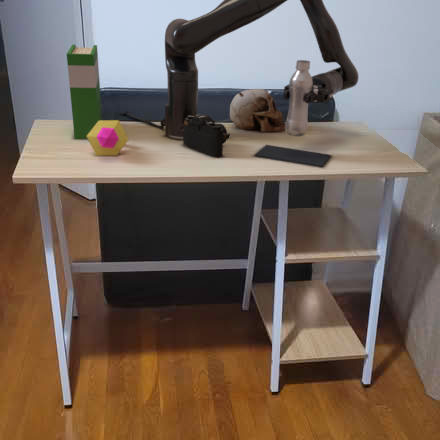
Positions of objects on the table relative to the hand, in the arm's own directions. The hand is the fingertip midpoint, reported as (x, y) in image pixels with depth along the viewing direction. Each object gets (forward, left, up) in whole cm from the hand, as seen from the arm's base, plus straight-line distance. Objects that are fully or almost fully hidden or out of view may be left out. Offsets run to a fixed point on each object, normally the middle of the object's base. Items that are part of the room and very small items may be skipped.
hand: (296, 97), depth 153 cm
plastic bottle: (0, +2, -11) cm, 11 cm away
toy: (-48, -21, -17) cm, 55 cm away
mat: (0, +2, -17) cm, 17 cm away
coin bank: (-19, +27, -17) cm, 37 cm away
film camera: (-25, -3, -17) cm, 30 cm away
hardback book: (-65, -5, -17) cm, 67 cm away
